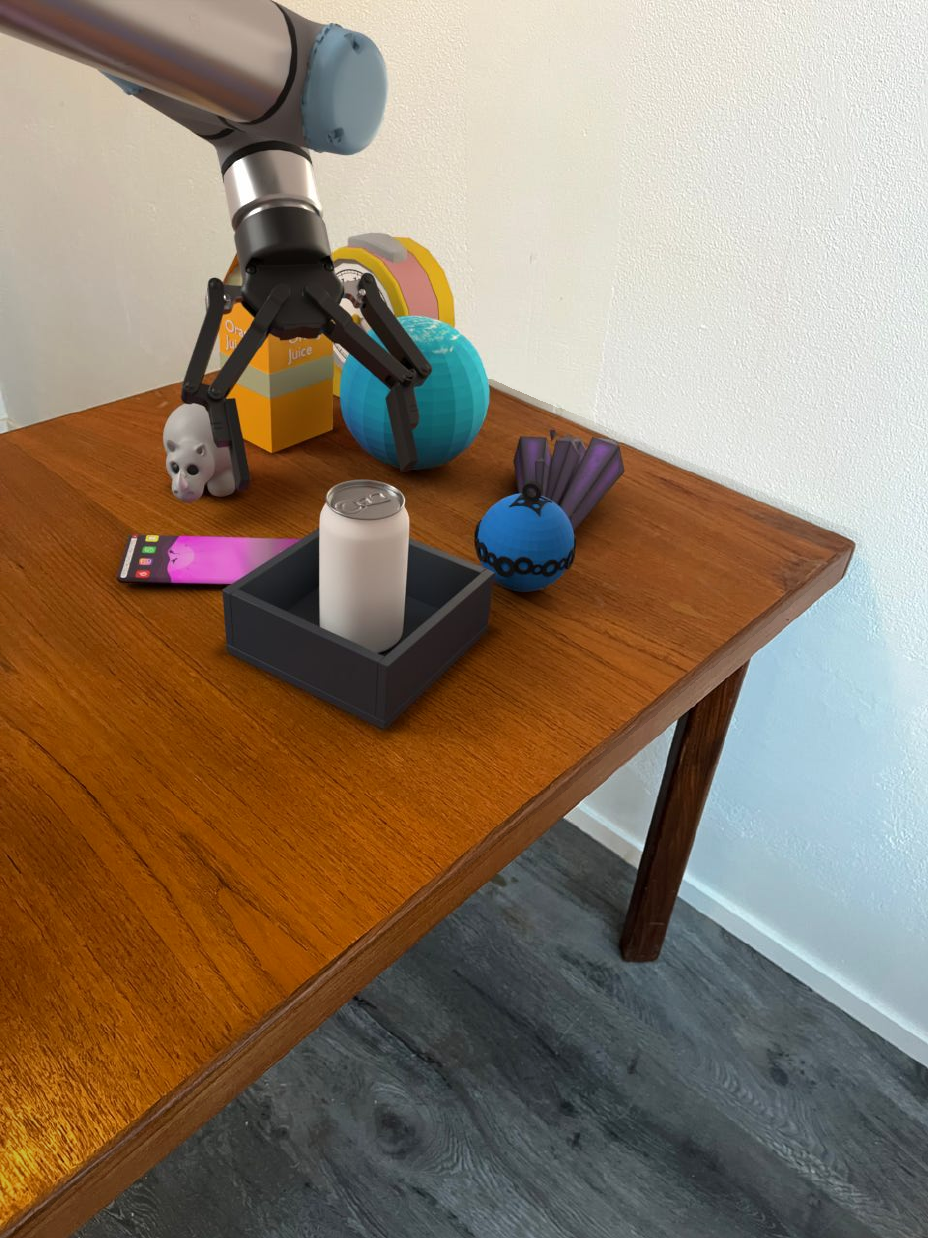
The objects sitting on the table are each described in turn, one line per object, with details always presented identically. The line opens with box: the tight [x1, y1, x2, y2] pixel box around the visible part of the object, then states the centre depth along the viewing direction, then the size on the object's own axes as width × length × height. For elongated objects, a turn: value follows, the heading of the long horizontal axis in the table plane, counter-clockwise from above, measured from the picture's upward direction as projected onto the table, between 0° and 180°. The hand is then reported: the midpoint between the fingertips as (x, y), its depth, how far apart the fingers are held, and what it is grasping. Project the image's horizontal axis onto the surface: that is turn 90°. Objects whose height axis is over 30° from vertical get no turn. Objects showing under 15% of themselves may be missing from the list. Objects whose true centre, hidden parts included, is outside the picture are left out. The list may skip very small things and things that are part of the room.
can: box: [318, 479, 410, 654], centre depth 72 cm, size 6×6×12 cm
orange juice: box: [218, 252, 334, 454], centre depth 99 cm, size 8×9×20 cm
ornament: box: [473, 481, 578, 593], centre depth 82 cm, size 9×9×10 cm
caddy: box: [222, 527, 495, 731], centre depth 75 cm, size 15×15×6 cm
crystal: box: [512, 429, 625, 532], centre depth 96 cm, size 7×12×20 cm
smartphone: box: [116, 533, 301, 586], centre depth 83 cm, size 7×15×1 cm, turn 97°
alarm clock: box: [331, 232, 456, 398], centre depth 109 cm, size 15×8×18 cm, turn 50°
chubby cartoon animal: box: [162, 403, 243, 503], centre depth 90 cm, size 7×12×8 cm, turn 176°
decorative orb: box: [339, 316, 490, 471], centre depth 97 cm, size 15×15×15 cm
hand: (329, 476), depth 78 cm, fingers open, 13 cm apart
